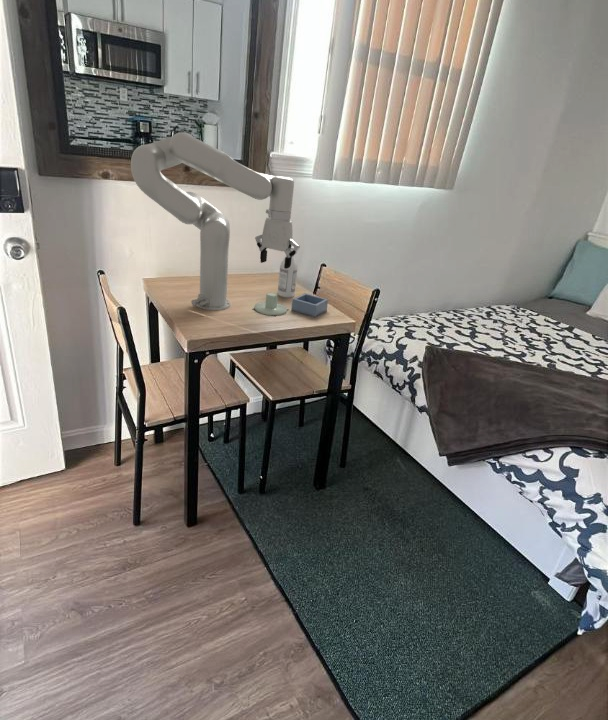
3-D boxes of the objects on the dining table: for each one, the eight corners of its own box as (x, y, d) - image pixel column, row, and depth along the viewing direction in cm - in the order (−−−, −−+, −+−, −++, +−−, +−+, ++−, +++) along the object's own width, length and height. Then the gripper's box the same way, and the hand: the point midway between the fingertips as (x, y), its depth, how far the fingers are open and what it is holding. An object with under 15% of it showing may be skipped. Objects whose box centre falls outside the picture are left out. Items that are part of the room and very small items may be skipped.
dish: (314, 318, 165) (316, 305, 163) (291, 311, 169) (292, 298, 167) (326, 311, 173) (328, 299, 171) (303, 305, 177) (305, 293, 175)
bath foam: (292, 293, 189) (297, 245, 180) (296, 298, 183) (301, 249, 175) (275, 292, 187) (280, 244, 178) (279, 298, 181) (284, 248, 173)
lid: (276, 318, 160) (277, 302, 157) (248, 309, 164) (249, 294, 162) (292, 309, 169) (294, 294, 167) (265, 301, 174) (266, 287, 171)
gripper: (252, 211, 154) (248, 261, 161) (297, 221, 148) (291, 272, 155) (263, 210, 160) (259, 258, 167) (307, 219, 154) (301, 268, 161)
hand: (275, 264), depth 161 cm, fingers open, 9 cm apart
